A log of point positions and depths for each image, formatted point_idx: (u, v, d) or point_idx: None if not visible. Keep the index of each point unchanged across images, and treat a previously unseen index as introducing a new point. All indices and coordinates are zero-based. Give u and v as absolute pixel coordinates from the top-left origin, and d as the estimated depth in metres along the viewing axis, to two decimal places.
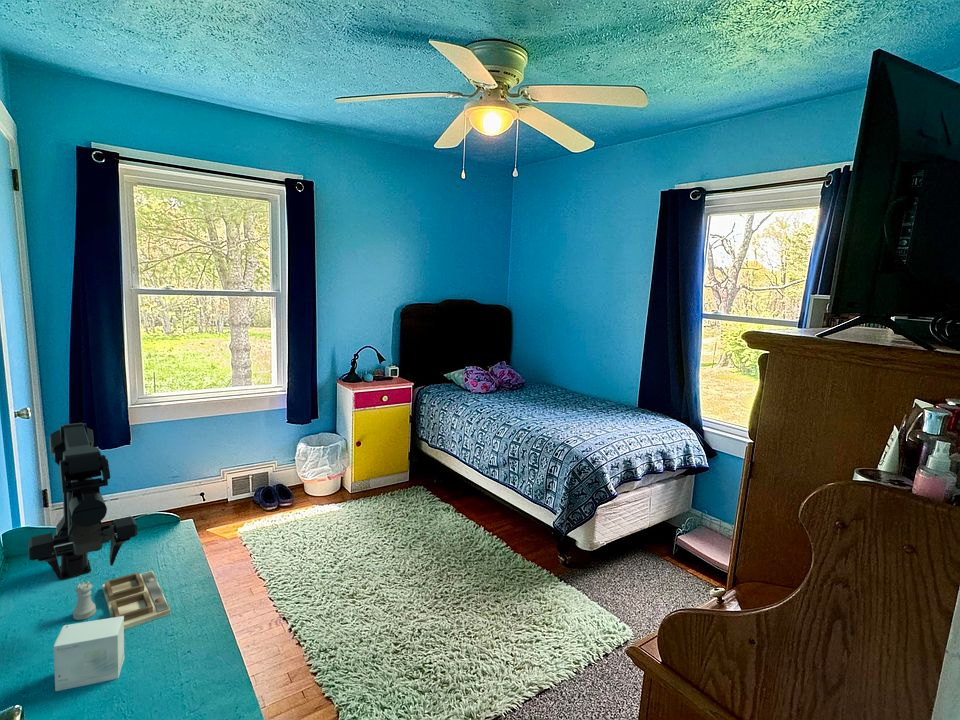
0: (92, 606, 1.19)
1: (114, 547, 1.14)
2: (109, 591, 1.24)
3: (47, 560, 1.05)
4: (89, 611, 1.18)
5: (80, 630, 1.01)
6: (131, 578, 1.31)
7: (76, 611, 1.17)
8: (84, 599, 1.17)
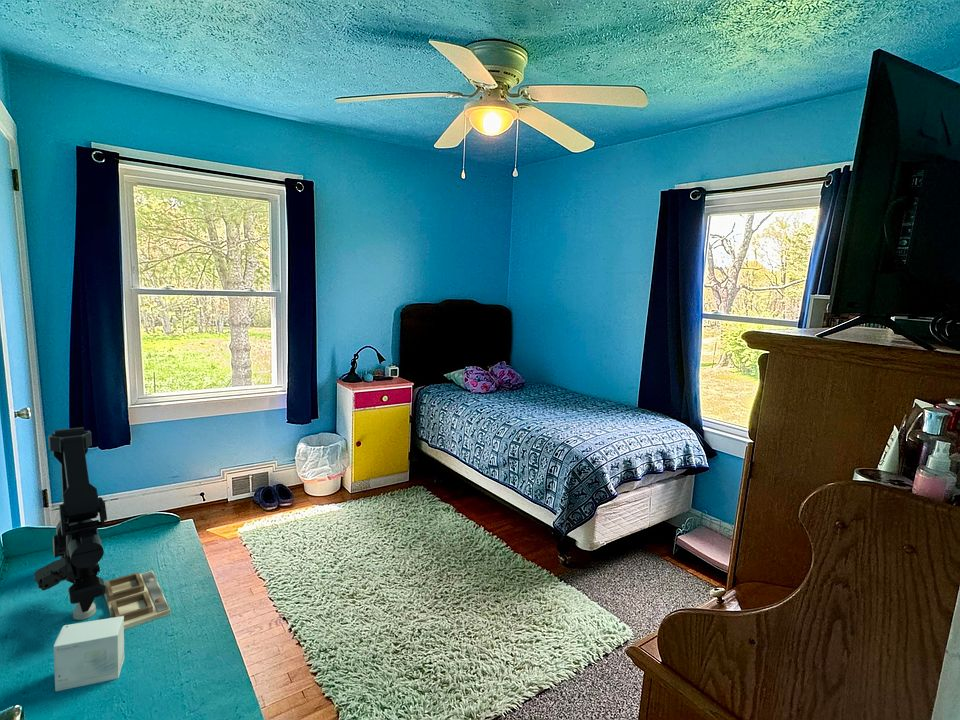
0: (92, 606, 1.19)
1: None
2: (109, 591, 1.24)
3: None
4: (89, 611, 1.18)
5: (80, 630, 1.01)
6: (131, 578, 1.31)
7: (76, 611, 1.17)
8: None
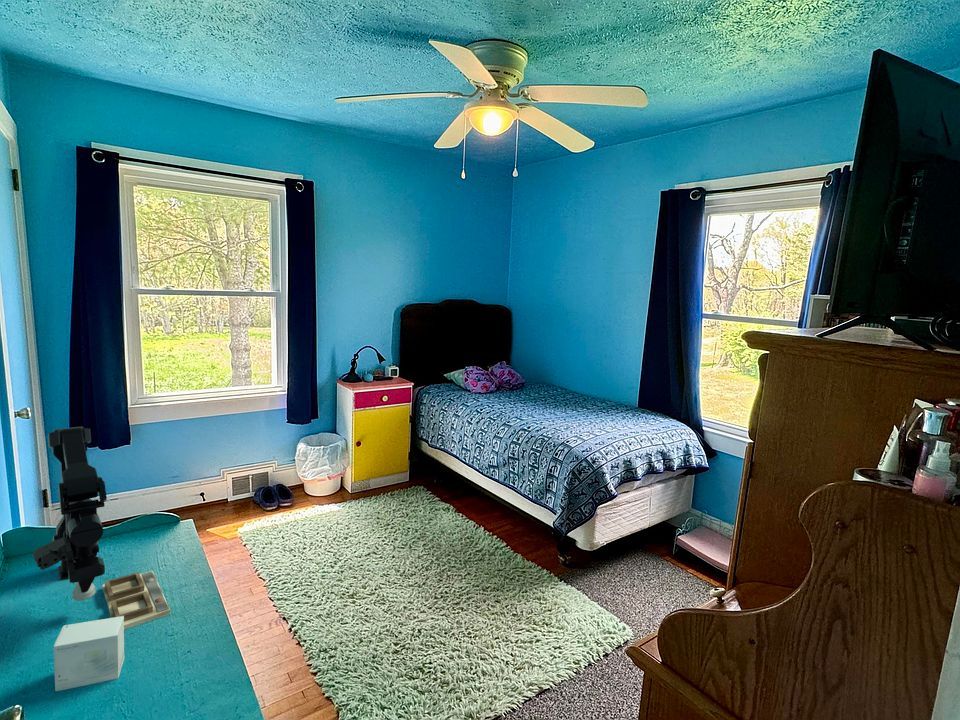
0: (91, 587, 1.18)
1: None
2: (109, 591, 1.24)
3: None
4: (88, 592, 1.17)
5: (80, 630, 1.01)
6: (131, 578, 1.31)
7: (75, 592, 1.16)
8: None
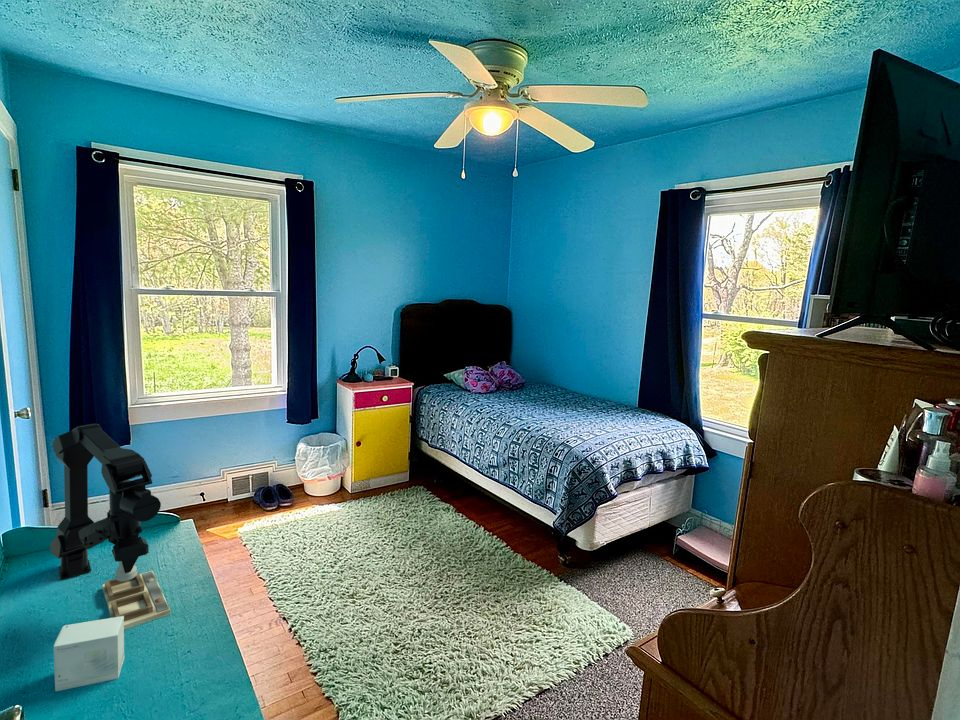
0: (134, 568, 1.19)
1: None
2: (109, 591, 1.24)
3: None
4: (131, 573, 1.17)
5: (80, 630, 1.01)
6: None
7: (118, 573, 1.17)
8: None
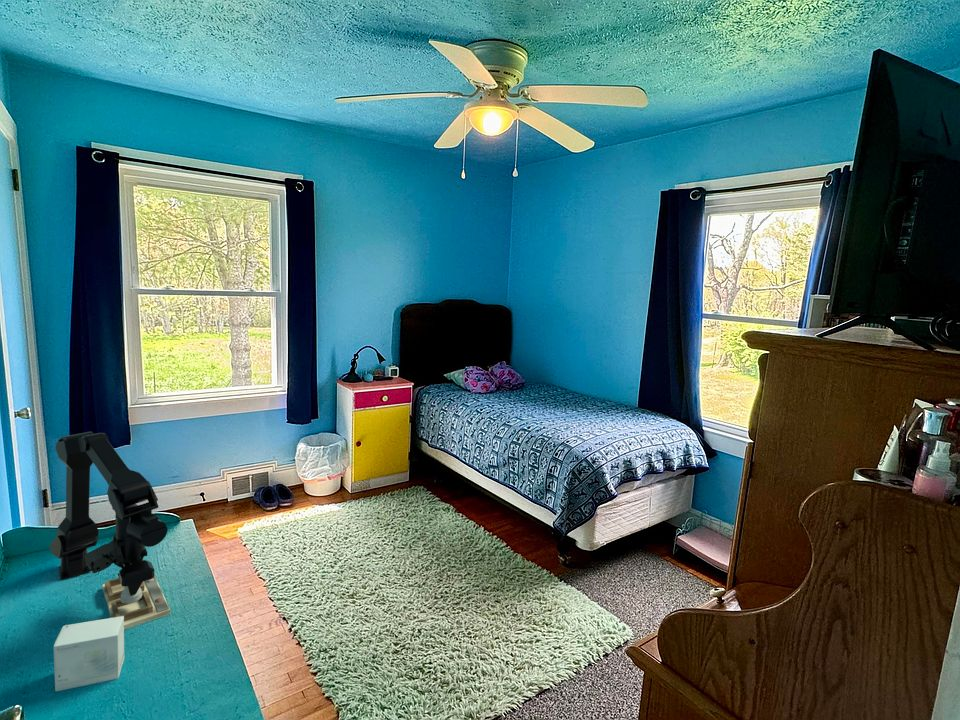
0: (139, 590, 1.20)
1: None
2: (109, 591, 1.24)
3: None
4: (136, 595, 1.19)
5: (80, 630, 1.01)
6: None
7: (123, 595, 1.18)
8: None
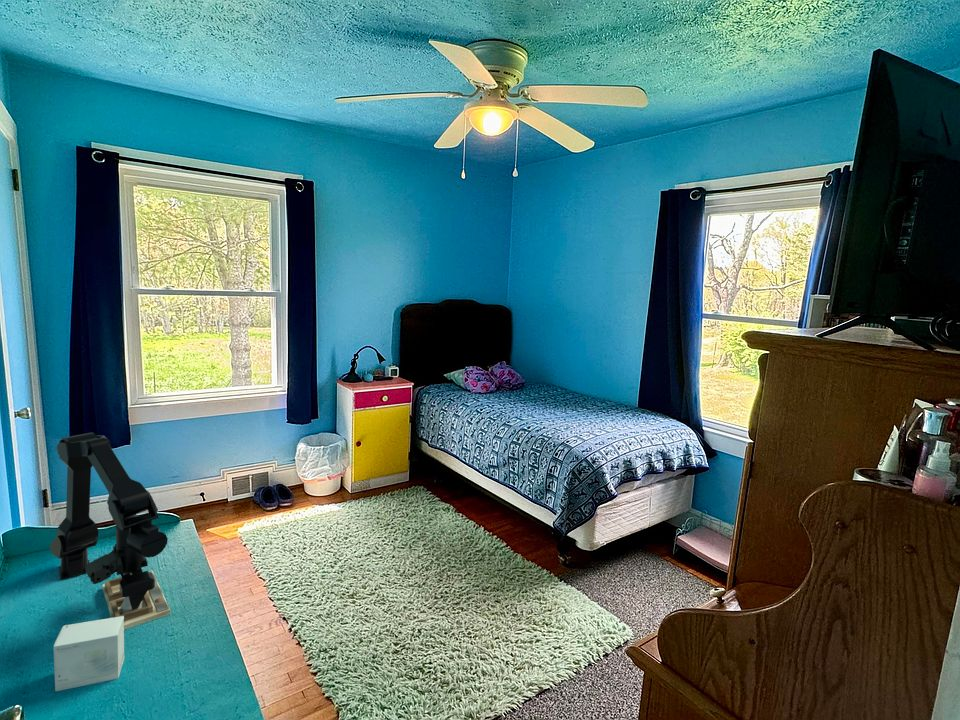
0: None
1: None
2: (109, 591, 1.24)
3: None
4: None
5: (80, 630, 1.01)
6: None
7: (123, 606, 1.19)
8: None
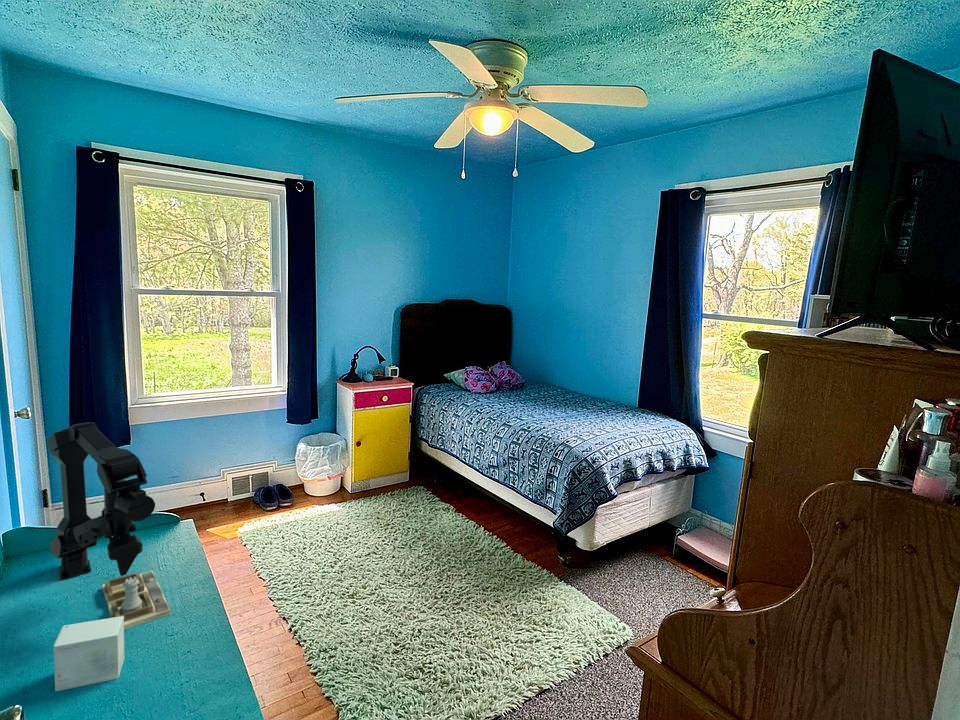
0: (139, 601, 1.20)
1: None
2: (109, 591, 1.24)
3: None
4: (136, 606, 1.19)
5: (80, 630, 1.01)
6: (131, 578, 1.31)
7: (123, 606, 1.19)
8: (131, 595, 1.19)
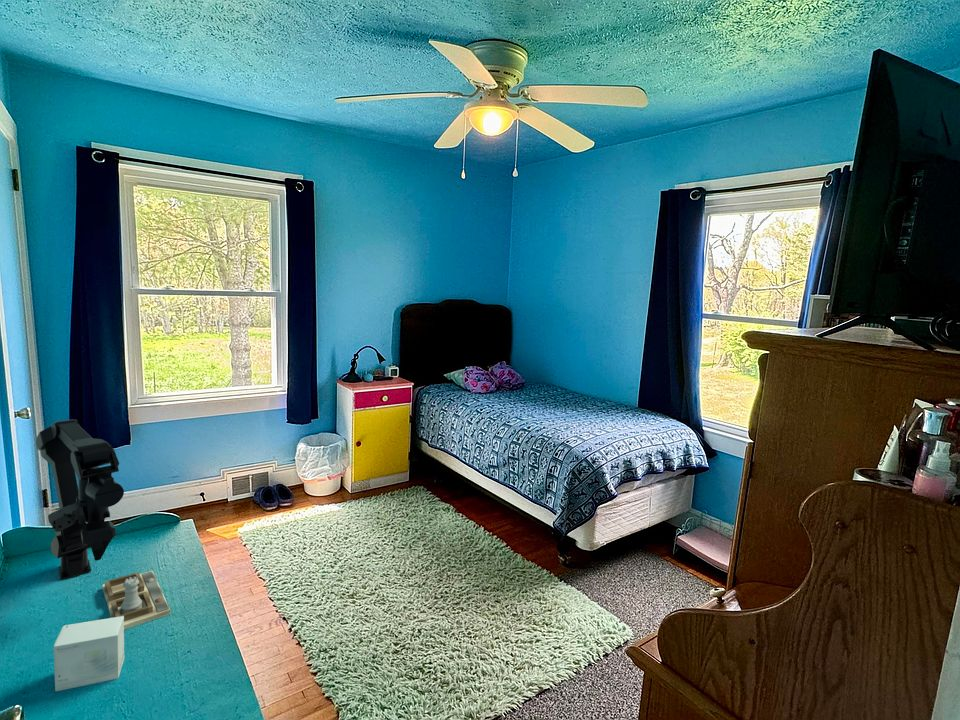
0: (139, 601, 1.20)
1: None
2: (109, 591, 1.24)
3: None
4: (136, 606, 1.19)
5: (80, 630, 1.01)
6: (131, 578, 1.31)
7: (123, 606, 1.19)
8: (131, 595, 1.19)
